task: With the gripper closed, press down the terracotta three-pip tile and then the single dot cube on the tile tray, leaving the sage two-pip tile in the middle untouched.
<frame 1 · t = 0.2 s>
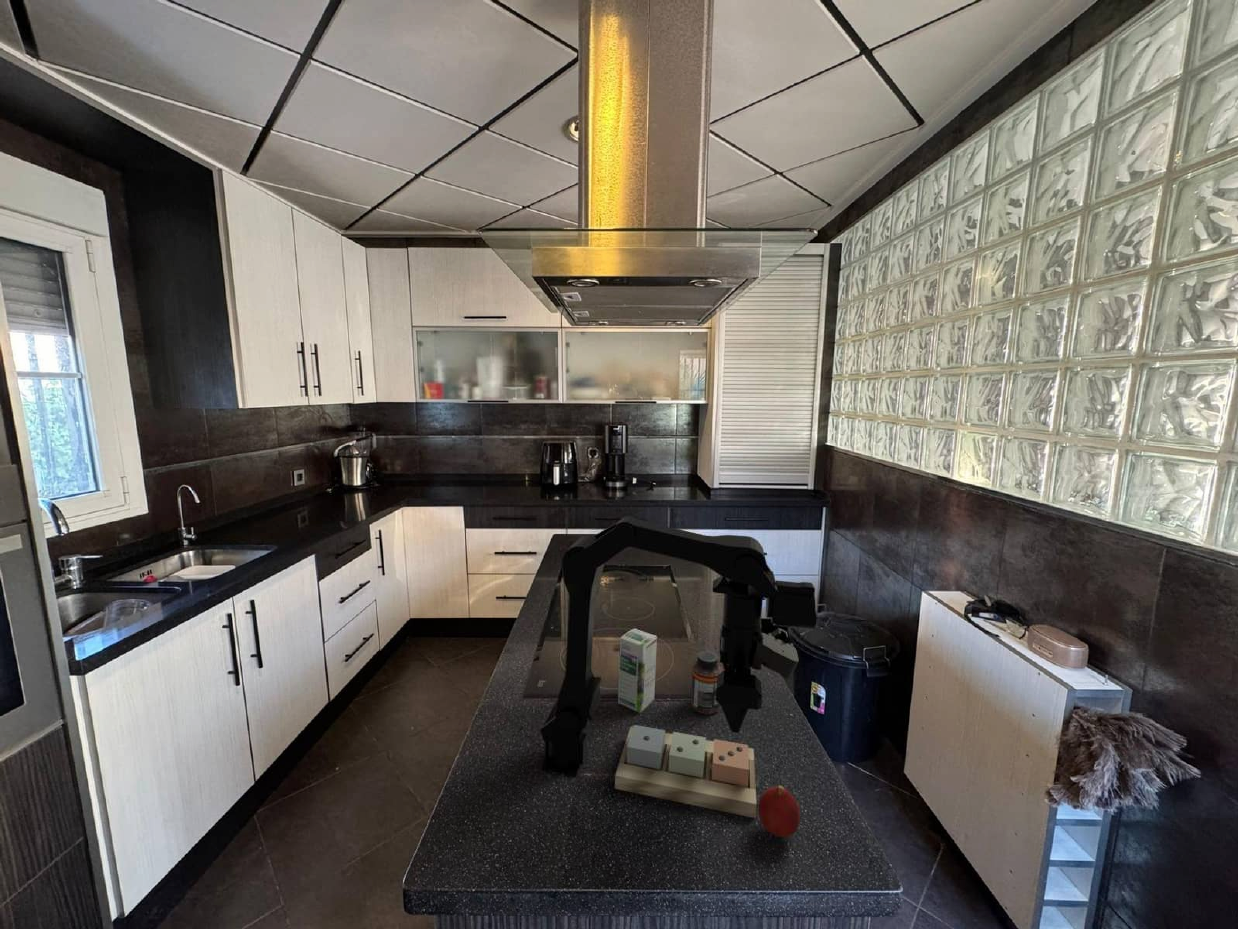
hand: (735, 712, 78), 14 cm above the counter, fingers open, 9 cm apart
tile three pip: (730, 761, 81), point 4 cm above the counter, slide at 0.0 cm
tile tray: (686, 774, 83), on the counter
tile two pip: (687, 753, 82), point 4 cm above the counter, slide at 0.0 cm
onion: (777, 835, 72), on the counter
supplement bottle: (705, 707, 101), on the counter
syrup box: (636, 702, 102), on the counter
single dot cube: (646, 746, 84), point 4 cm above the counter, slide at 0.0 cm
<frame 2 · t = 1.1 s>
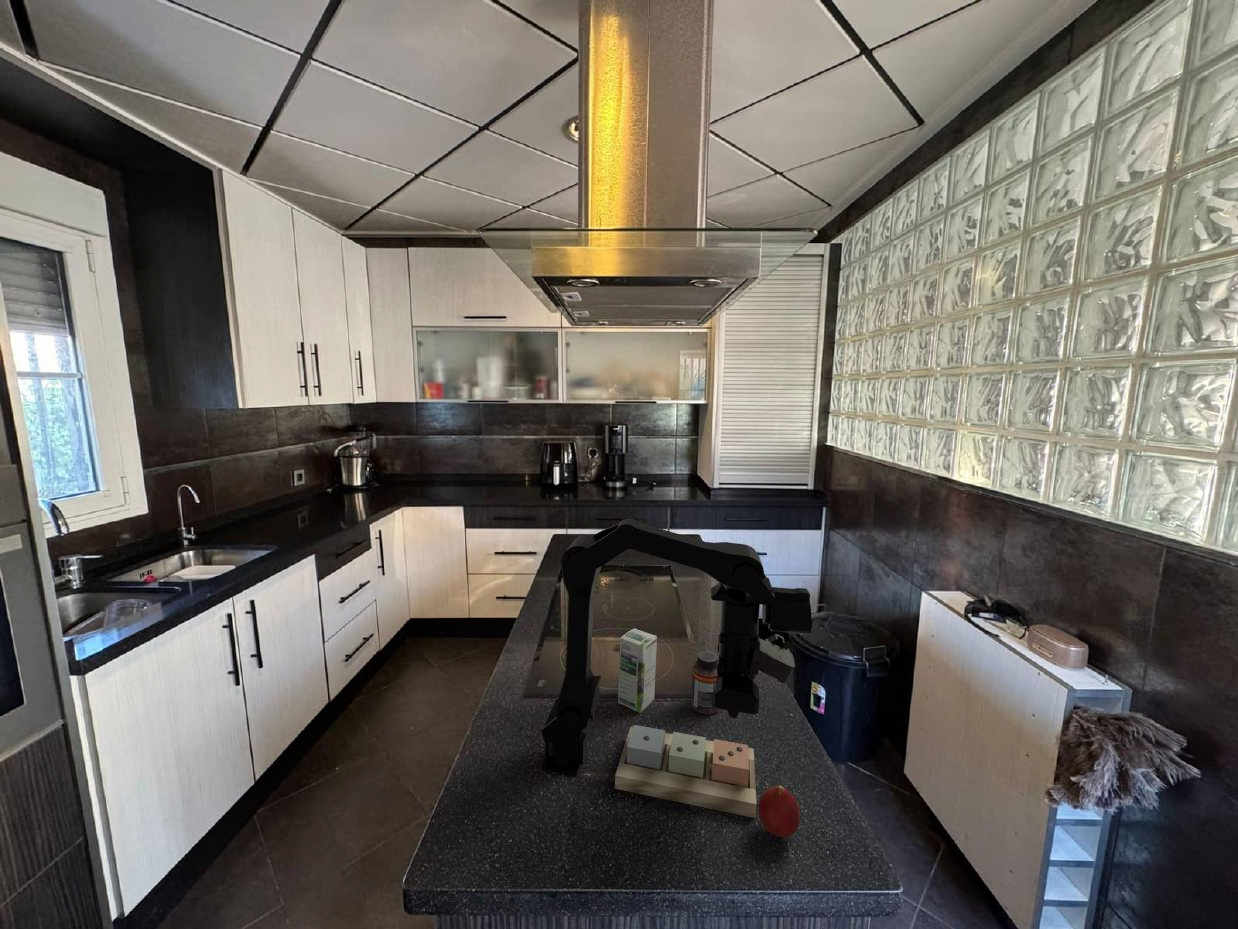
hand: (733, 716, 80), 12 cm above the counter, fingers closed
nothing on the counter moved.
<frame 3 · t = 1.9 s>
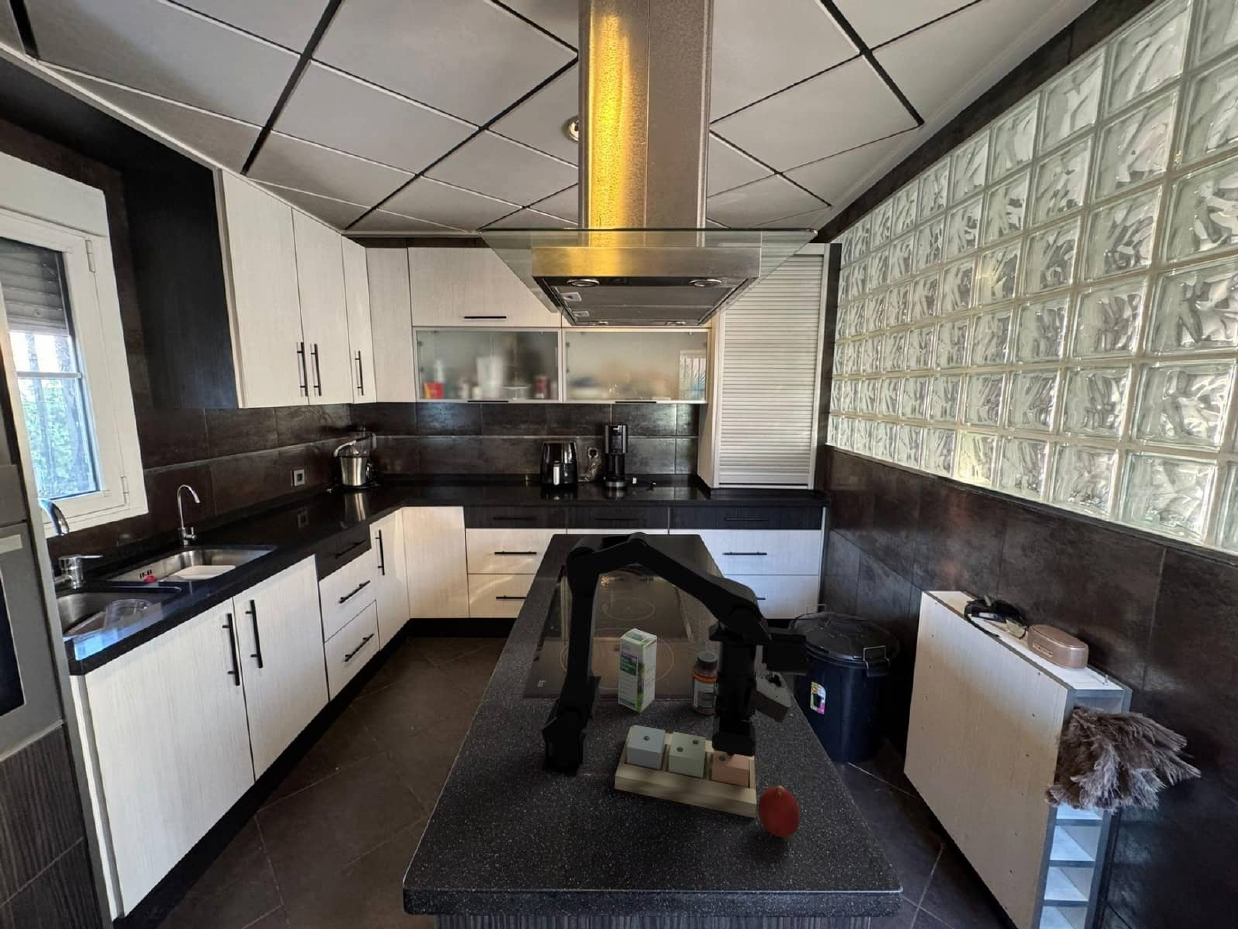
hand: (730, 753, 81), 5 cm above the counter, fingers closed, pressing on tile three pip
tile three pip: (730, 762, 81), point 4 cm above the counter, slide at 0.0 cm, touching gripper
everything else where it was.
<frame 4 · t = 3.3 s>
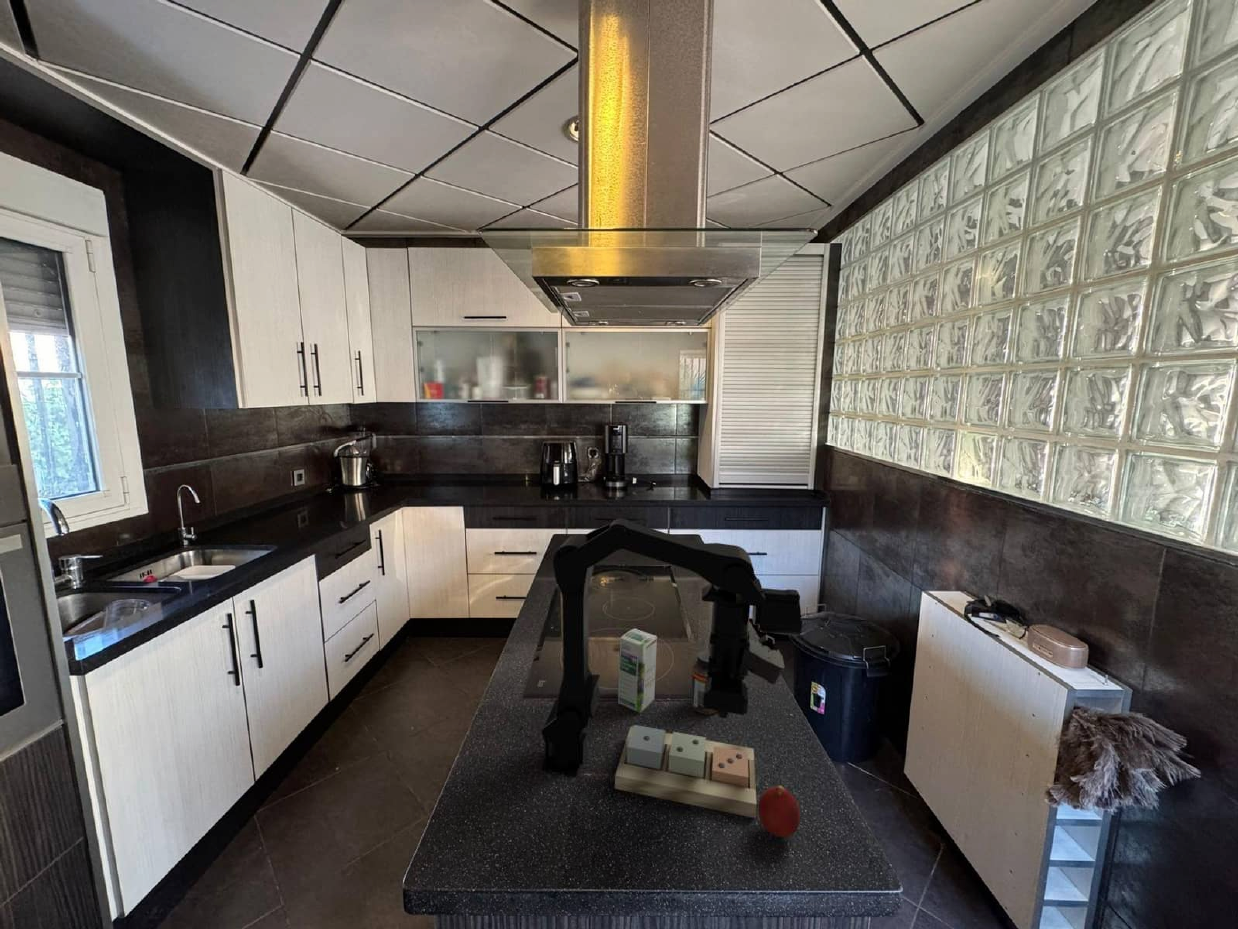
hand: (722, 717, 80), 12 cm above the counter, fingers closed
tile three pip: (729, 769, 81), point 3 cm above the counter, slide at 1.3 cm
everything else where it was.
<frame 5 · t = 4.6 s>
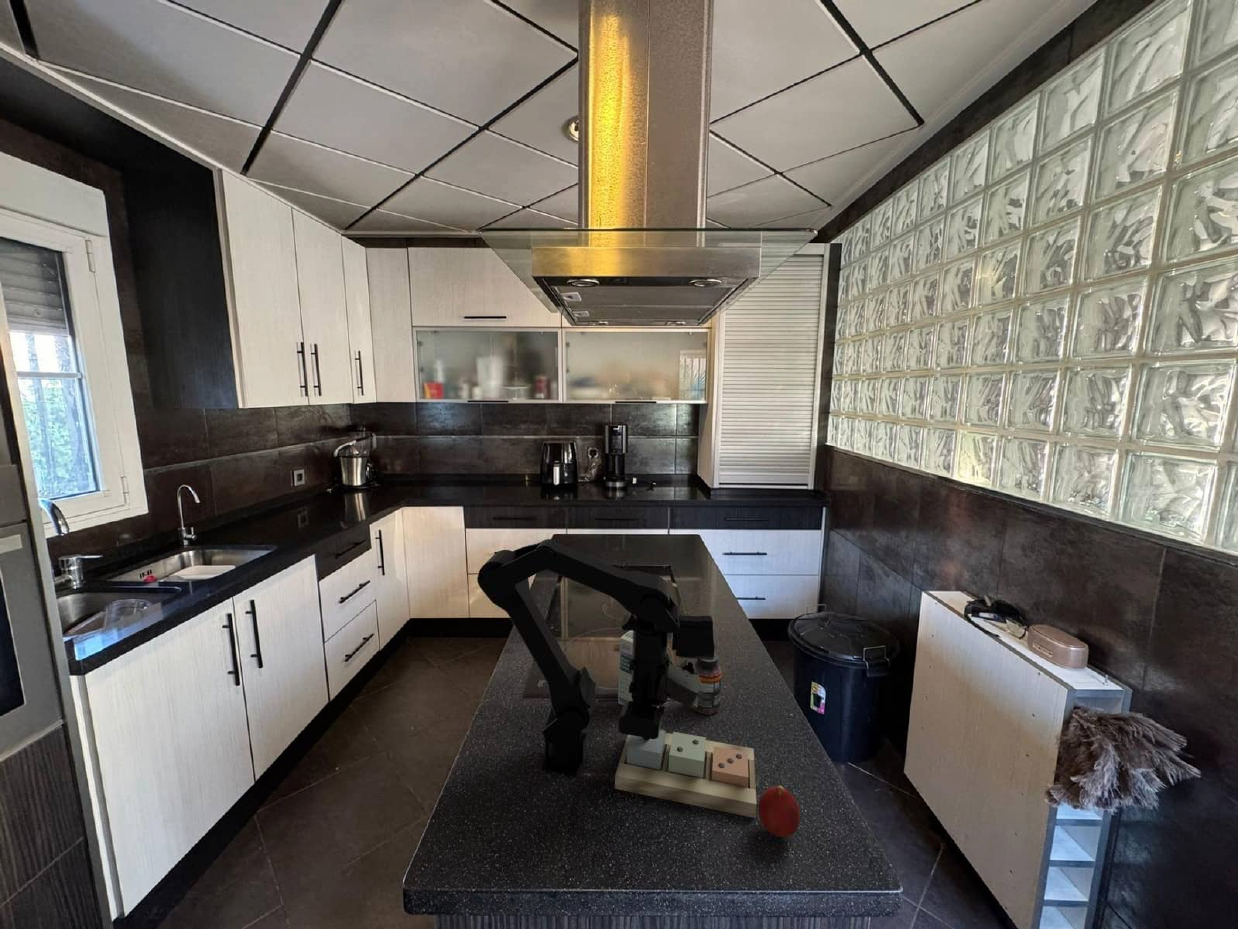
hand: (646, 738, 84), 5 cm above the counter, fingers closed, pressing on single dot cube
single dot cube: (646, 746, 84), point 4 cm above the counter, slide at 0.1 cm, touching gripper
everything else where it was.
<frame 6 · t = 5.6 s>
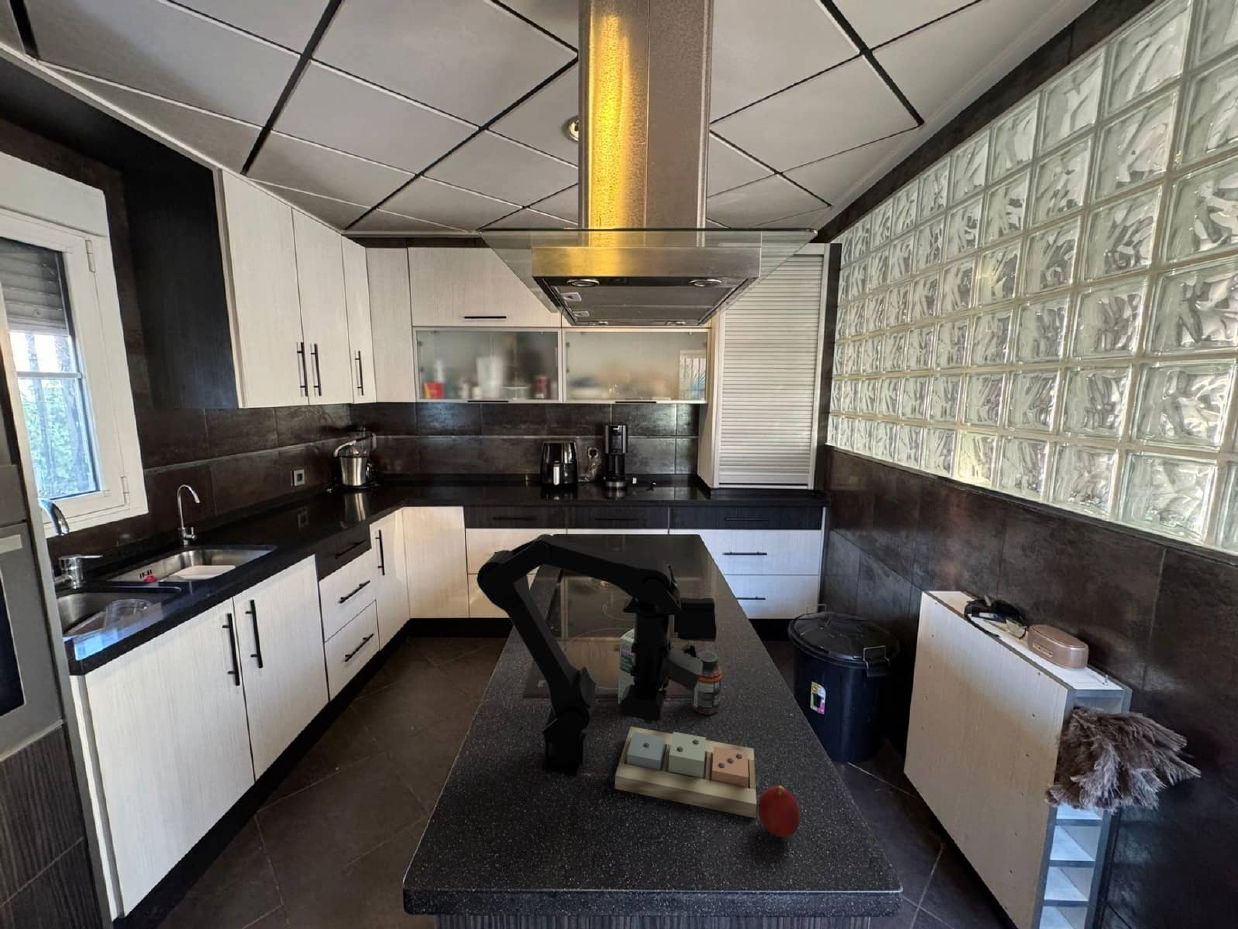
hand: (648, 722, 83), 8 cm above the counter, fingers closed
single dot cube: (646, 753, 84), point 3 cm above the counter, slide at 1.3 cm
everything else where it was.
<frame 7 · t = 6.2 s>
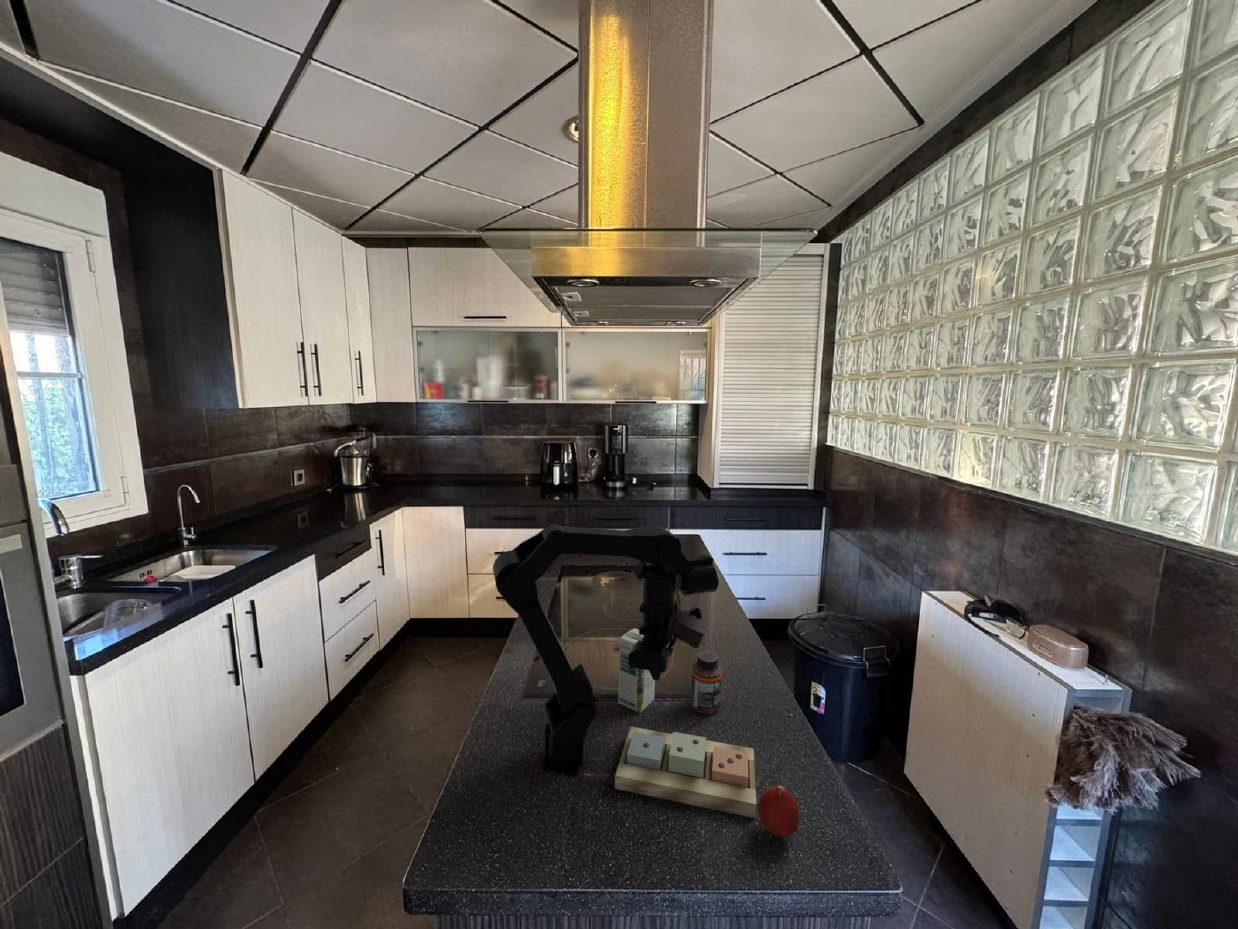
hand: (656, 679, 89), 12 cm above the counter, fingers closed
nothing on the counter moved.
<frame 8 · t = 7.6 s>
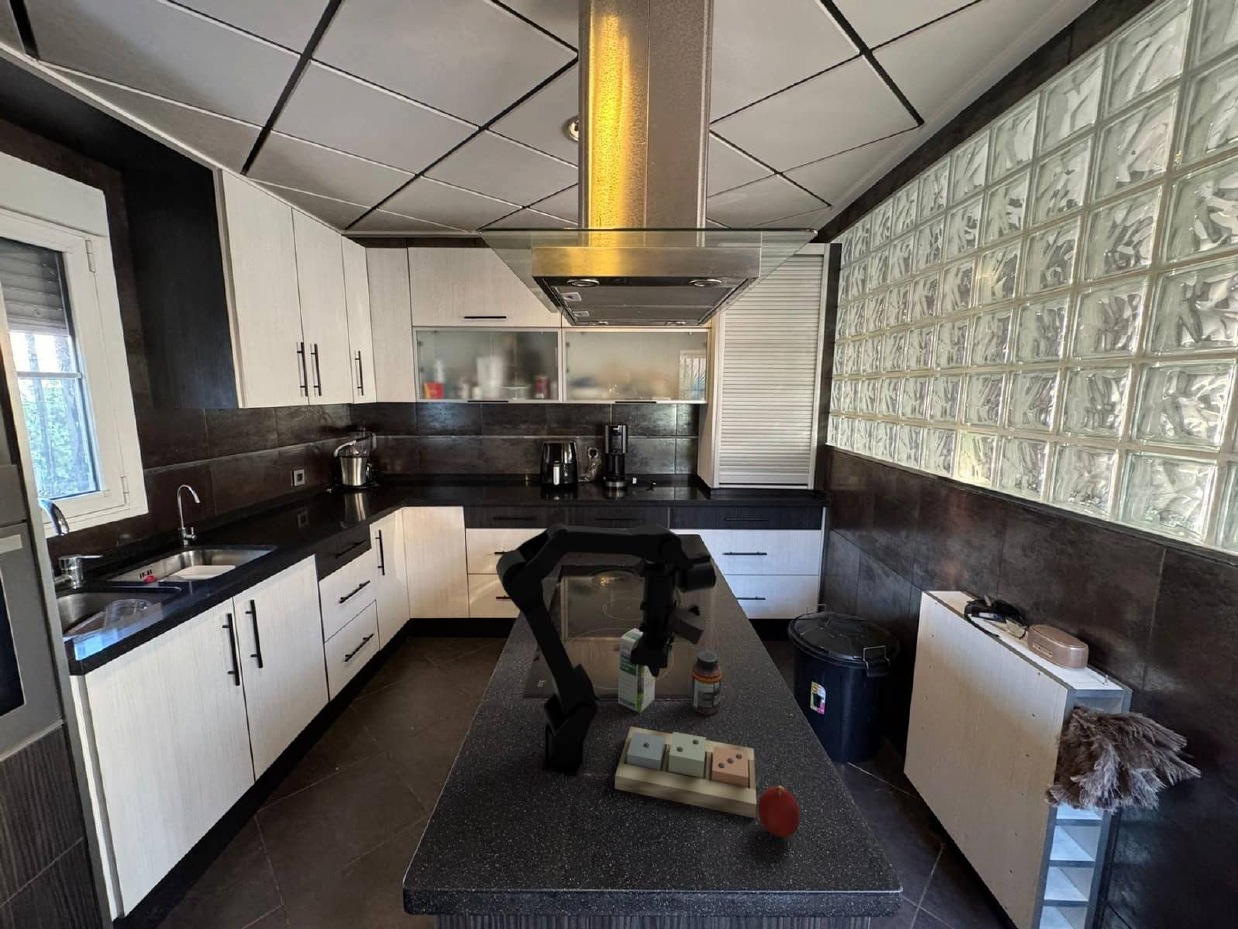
hand: (655, 676, 90), 12 cm above the counter, fingers closed
nothing on the counter moved.
at the end: tile three pip slide at 1.3 cm; single dot cube slide at 1.3 cm; tile two pip slide at 0.0 cm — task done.
